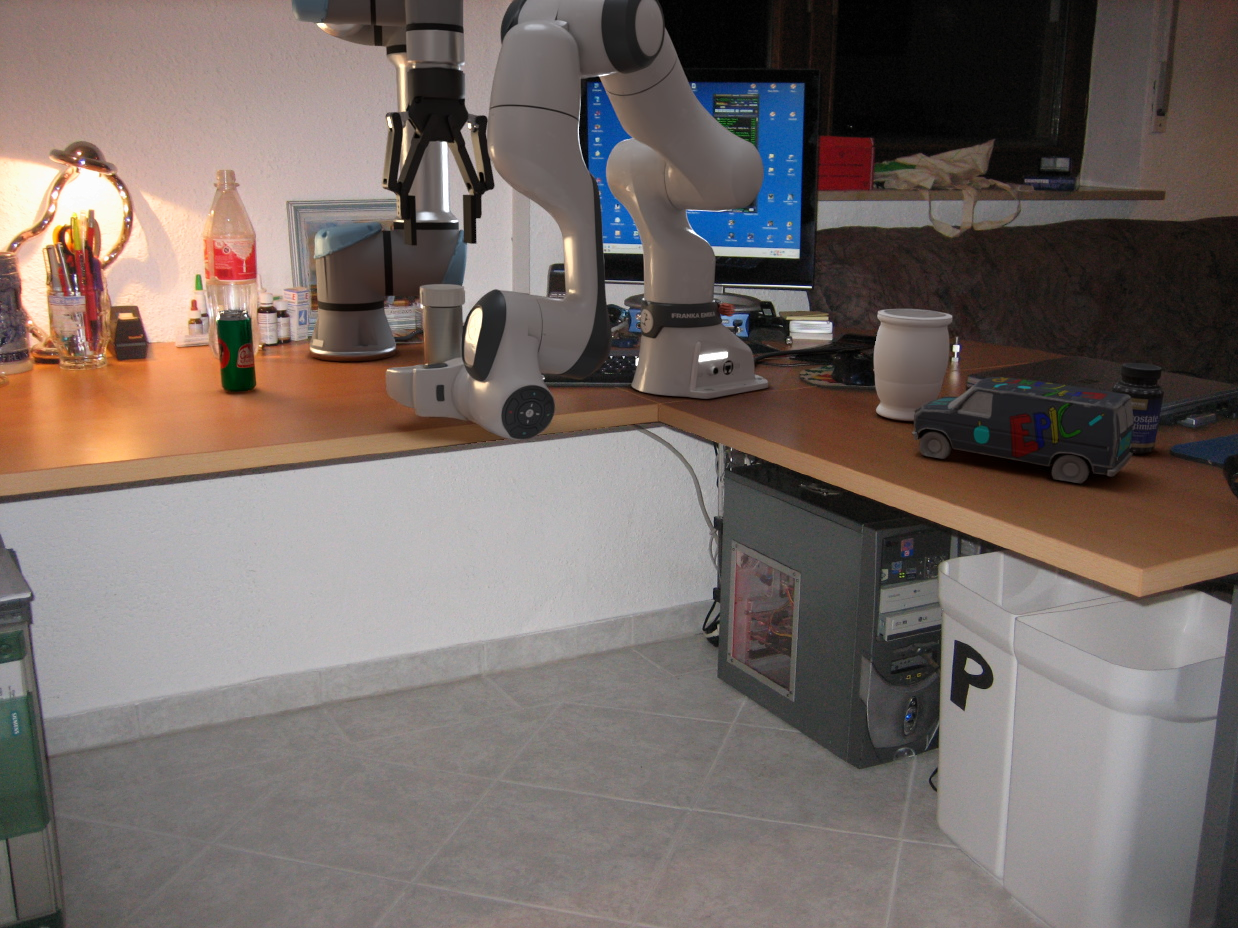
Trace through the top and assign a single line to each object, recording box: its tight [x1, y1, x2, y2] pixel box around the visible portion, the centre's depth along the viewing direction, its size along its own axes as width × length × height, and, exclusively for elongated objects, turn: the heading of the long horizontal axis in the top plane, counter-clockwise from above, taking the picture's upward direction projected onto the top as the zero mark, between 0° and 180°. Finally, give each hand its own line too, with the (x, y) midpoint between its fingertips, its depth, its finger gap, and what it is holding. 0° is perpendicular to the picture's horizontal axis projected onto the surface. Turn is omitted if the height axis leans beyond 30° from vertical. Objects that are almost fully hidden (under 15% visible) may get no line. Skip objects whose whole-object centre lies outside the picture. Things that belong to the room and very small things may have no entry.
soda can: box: [215, 309, 257, 393], centre depth 163 cm, size 5×5×12 cm
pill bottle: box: [1111, 362, 1165, 455], centre depth 139 cm, size 6×6×11 cm
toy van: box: [911, 376, 1135, 484], centre depth 132 cm, size 11×25×10 cm, turn 54°
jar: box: [873, 308, 953, 422], centre depth 154 cm, size 11×10×15 cm
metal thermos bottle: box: [422, 305, 464, 365], centre depth 151 cm, size 6×6×18 cm
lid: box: [419, 284, 466, 307], centre depth 149 cm, size 6×6×2 cm
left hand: (440, 243), depth 147 cm, fingers open, 8 cm apart
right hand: (442, 368), depth 153 cm, fingers closed on metal thermos bottle, 5 cm apart
